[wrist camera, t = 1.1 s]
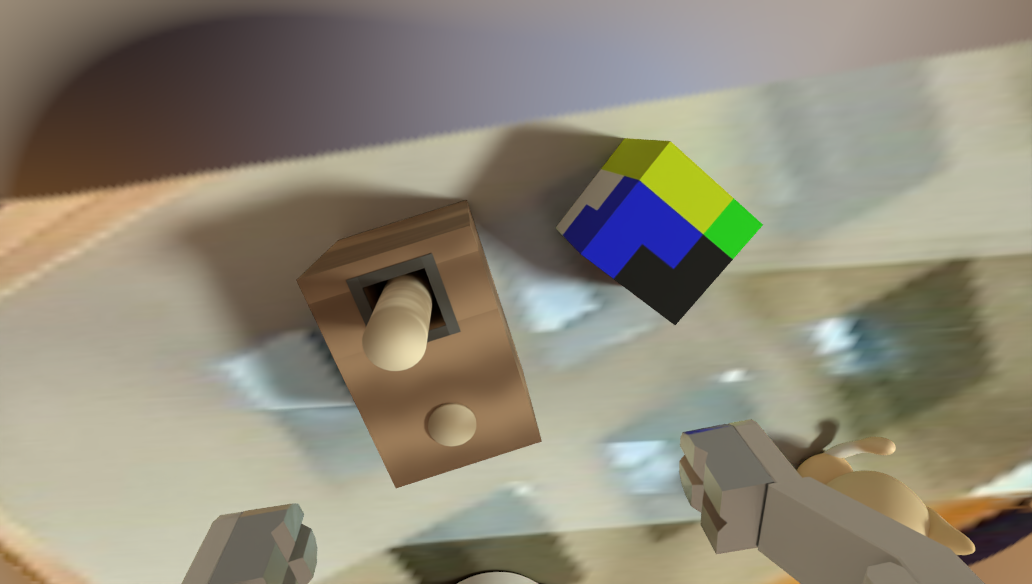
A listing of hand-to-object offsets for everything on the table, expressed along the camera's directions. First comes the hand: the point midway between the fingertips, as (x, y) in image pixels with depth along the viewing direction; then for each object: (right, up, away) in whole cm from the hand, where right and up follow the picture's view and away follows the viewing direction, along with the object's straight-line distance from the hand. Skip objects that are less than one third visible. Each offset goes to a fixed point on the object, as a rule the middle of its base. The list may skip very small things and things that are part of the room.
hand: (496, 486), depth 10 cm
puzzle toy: (+11, +11, +36) cm, 39 cm away
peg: (-8, +5, +28) cm, 30 cm away
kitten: (+36, -17, +48) cm, 63 cm away
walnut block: (-7, +2, +36) cm, 37 cm away
